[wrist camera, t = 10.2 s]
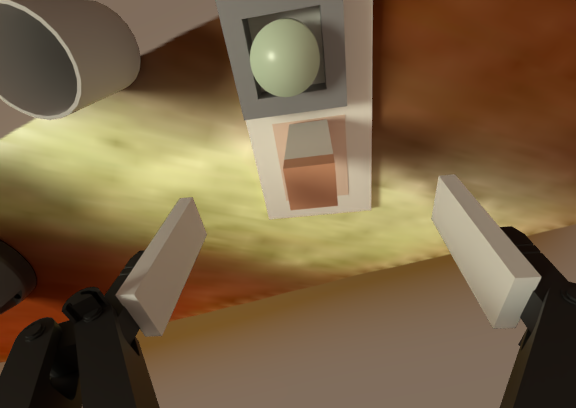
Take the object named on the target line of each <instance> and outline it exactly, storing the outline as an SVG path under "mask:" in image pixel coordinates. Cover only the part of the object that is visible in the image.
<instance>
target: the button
mask: <svg viewBox="0 0 576 408" xmlns="http://www.w3.org/2000/svg"><path fill="white" fill-rule="evenodd" d="M250 65H251V69H252V72H253V75H254V77H255V79H256V81H257V82H258V83H259V85H260V86H261V87H262V88H263V89H264V90H266V91H267V92H269V93H271V94H273V95H275V96H279V97H292V96H295V95H298V94H300V93H302V92H303V91H305V90H306V89H307V88H308V87H309V86H310V85H311V84H312V83H313V81H314V80H315V78H316V76H317V73H318V70H319V65H320V53H319V48H318V45H317V41H316V38H315V36H314V34H313V32H312V31H311V30H310V29H309V27H308V26H307V25H305V24H304V23H303V22H301V21H299V20H296V19H293V18H281V19H277V20H275V21H273V22H271V23H269V24H268V25H266V26H265V27H264V28H262V29H261V30H260V31H259V33H258V34H257V35H256V37H255V39H254V41H253V43H252V46H251V51H250Z"/></svg>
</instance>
